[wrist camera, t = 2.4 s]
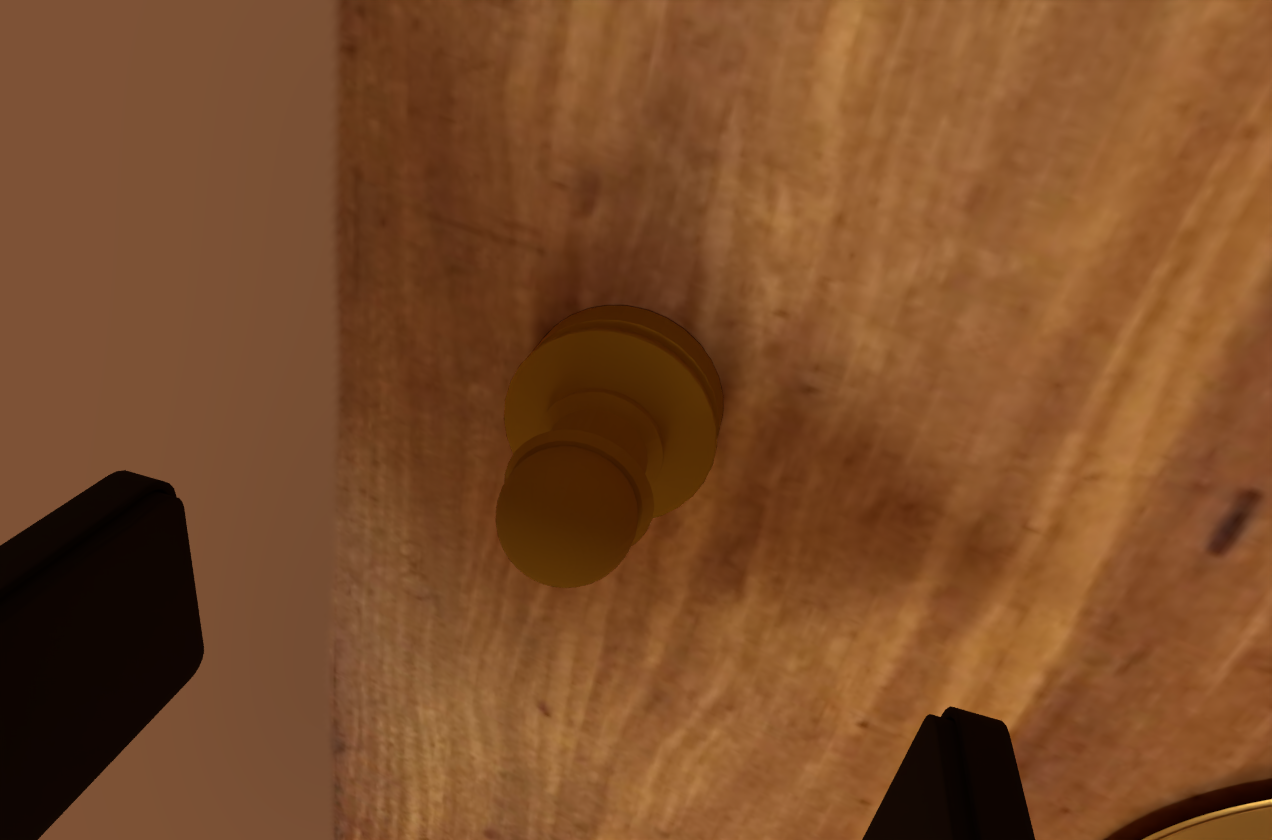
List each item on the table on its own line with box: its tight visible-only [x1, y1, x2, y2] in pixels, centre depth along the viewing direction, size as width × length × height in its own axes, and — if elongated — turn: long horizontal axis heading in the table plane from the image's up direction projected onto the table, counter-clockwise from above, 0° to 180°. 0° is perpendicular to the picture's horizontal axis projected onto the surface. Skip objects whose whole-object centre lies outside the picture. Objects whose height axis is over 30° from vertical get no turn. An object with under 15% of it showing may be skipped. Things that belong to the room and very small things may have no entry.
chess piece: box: [496, 305, 723, 588], centre depth 13 cm, size 4×4×5 cm
